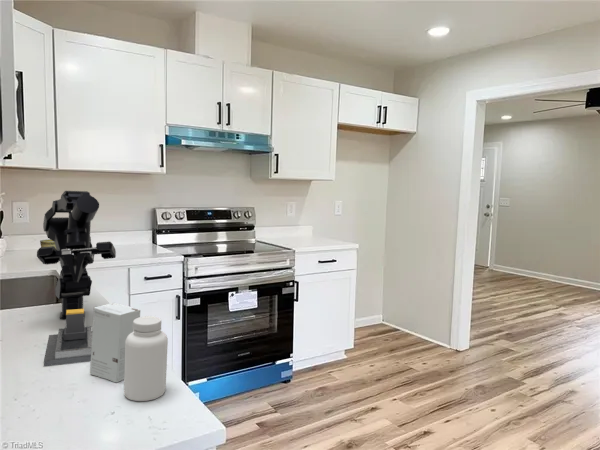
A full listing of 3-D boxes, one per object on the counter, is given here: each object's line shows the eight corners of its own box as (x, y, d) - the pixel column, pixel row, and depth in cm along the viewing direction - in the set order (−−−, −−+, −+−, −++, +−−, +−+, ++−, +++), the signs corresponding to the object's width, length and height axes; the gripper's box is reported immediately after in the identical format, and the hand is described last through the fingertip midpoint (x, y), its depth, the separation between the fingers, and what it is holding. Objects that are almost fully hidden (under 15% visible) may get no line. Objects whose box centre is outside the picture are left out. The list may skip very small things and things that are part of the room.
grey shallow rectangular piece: (49, 339, 113) (49, 328, 113) (100, 334, 118) (100, 324, 118) (43, 366, 97) (43, 354, 97) (102, 359, 102) (103, 348, 102)
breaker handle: (64, 335, 113) (64, 309, 112) (85, 333, 115) (86, 308, 114) (63, 340, 109) (63, 313, 109) (85, 338, 111) (86, 312, 111)
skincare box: (89, 375, 94) (90, 307, 93) (111, 365, 100) (112, 301, 99) (118, 384, 91) (119, 314, 90) (139, 373, 96) (141, 307, 95)
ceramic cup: (53, 263, 211) (53, 242, 210) (34, 261, 212) (35, 240, 211) (71, 258, 223) (72, 239, 222) (54, 257, 225) (54, 238, 224)
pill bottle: (149, 406, 83) (151, 328, 81) (114, 397, 85) (116, 322, 84) (174, 388, 90) (176, 317, 89) (141, 381, 93) (143, 311, 92)
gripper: (119, 239, 133) (119, 288, 126) (52, 245, 129) (48, 296, 122) (111, 222, 123) (110, 273, 116) (38, 227, 119) (33, 281, 112)
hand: (76, 281), depth 117 cm, fingers closed
